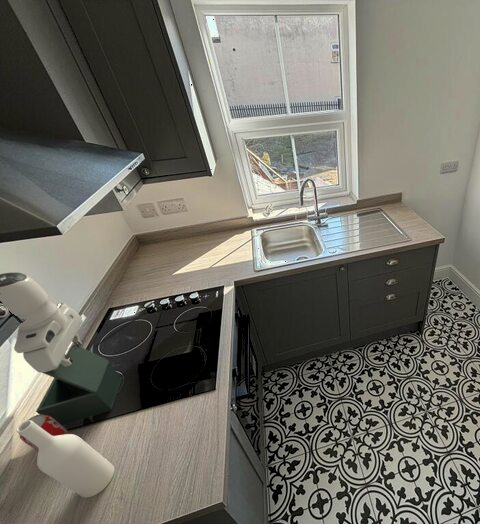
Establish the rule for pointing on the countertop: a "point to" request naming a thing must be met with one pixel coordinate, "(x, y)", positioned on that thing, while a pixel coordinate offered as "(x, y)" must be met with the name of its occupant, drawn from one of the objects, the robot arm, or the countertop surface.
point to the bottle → (69, 460)
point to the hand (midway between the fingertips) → (73, 355)
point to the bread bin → (80, 399)
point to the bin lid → (81, 369)
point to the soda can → (46, 428)
